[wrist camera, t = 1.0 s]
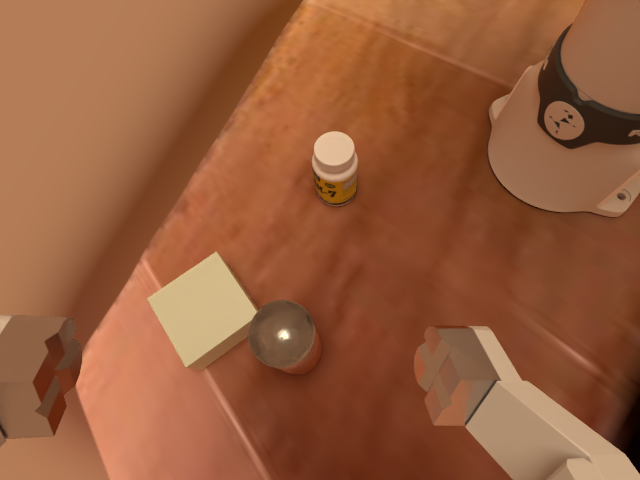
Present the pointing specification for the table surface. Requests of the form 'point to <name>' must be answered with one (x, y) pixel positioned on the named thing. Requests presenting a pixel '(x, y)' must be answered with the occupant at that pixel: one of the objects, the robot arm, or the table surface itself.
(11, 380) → the robot arm
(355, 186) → the supplement bottle
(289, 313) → the clear glass canister
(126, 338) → the table surface
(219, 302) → the block
